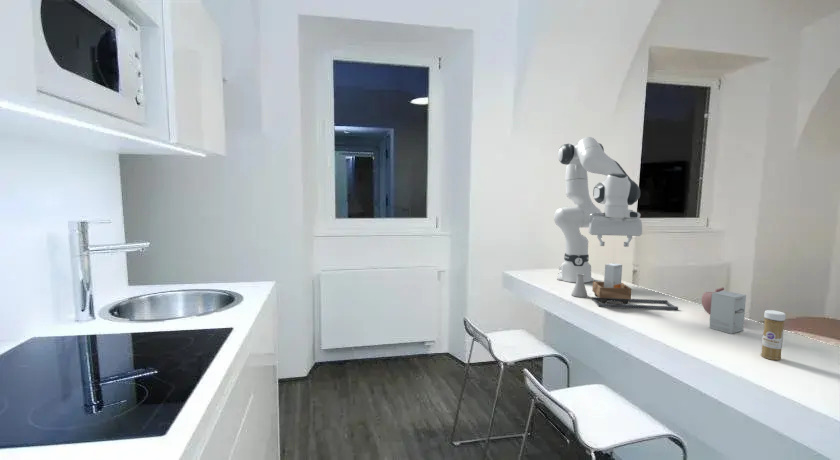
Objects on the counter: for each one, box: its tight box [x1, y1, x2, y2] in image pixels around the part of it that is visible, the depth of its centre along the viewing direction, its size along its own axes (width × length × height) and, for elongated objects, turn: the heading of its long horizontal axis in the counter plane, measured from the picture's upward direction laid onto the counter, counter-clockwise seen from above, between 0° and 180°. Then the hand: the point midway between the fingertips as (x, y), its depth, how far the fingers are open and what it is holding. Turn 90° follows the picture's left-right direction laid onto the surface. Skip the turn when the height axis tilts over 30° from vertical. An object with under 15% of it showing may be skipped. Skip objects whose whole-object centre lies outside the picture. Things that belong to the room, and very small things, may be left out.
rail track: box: [591, 296, 679, 311], centre depth 176 cm, size 11×30×1 cm, turn 81°
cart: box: [592, 281, 632, 304], centre depth 177 cm, size 12×12×6 cm
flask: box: [571, 273, 589, 298], centre depth 190 cm, size 7×7×10 cm
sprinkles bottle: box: [760, 309, 786, 361], centre depth 120 cm, size 5×5×14 cm
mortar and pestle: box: [701, 286, 725, 315], centre depth 157 cm, size 12×12×11 cm
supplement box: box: [708, 290, 747, 335], centre depth 144 cm, size 7×7×13 cm
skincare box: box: [603, 262, 623, 288], centre depth 176 cm, size 6×4×12 cm
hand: (614, 246), depth 175 cm, fingers open, 8 cm apart
